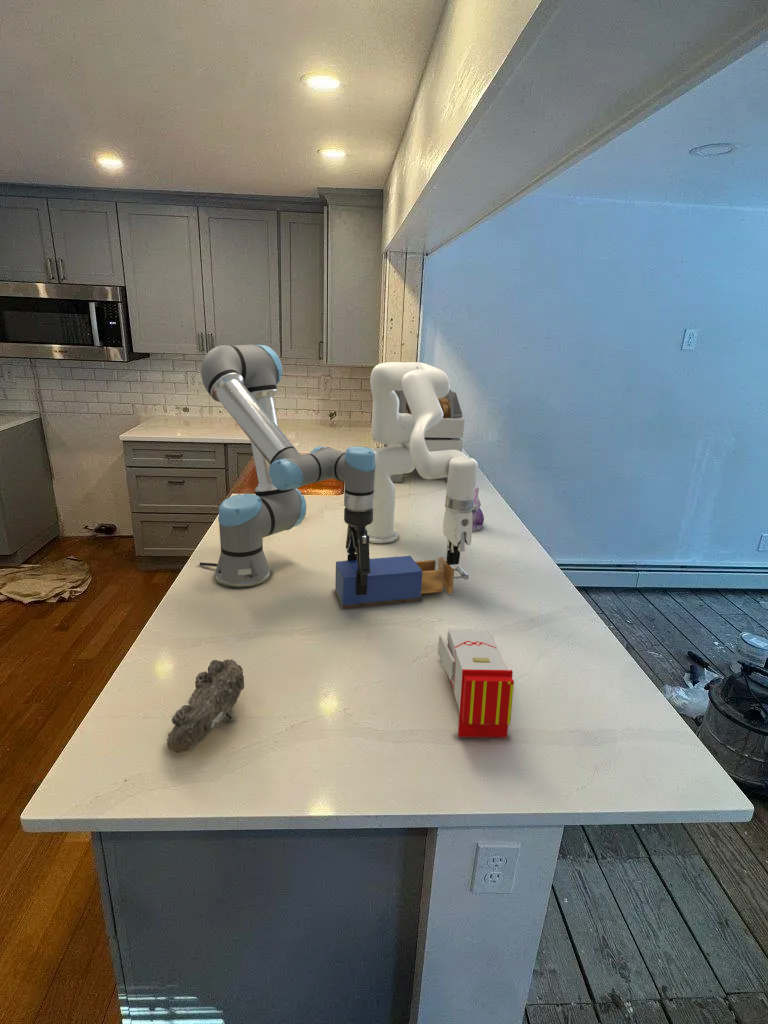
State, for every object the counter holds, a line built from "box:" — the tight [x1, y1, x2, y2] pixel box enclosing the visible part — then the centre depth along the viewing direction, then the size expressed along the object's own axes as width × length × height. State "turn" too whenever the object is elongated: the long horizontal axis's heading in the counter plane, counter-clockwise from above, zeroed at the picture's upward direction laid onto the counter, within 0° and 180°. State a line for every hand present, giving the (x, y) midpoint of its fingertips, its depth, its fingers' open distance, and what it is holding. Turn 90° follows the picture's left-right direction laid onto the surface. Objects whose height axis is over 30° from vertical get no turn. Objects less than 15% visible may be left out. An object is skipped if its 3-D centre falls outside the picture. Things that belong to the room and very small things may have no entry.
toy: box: [437, 628, 515, 738], centre depth 117 cm, size 12×13×30 cm
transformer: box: [383, 388, 465, 483], centre depth 268 cm, size 34×33×41 cm
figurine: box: [472, 486, 485, 532], centre depth 206 cm, size 9×10×15 cm
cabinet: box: [334, 555, 422, 610], centre depth 155 cm, size 22×10×9 cm, turn 106°
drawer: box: [414, 556, 470, 595], centre depth 158 cm, size 26×9×7 cm, turn 106°
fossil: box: [166, 658, 245, 754], centre depth 106 cm, size 22×10×15 cm
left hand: (356, 584), depth 153 cm, fingers closed on cabinet, 10 cm apart
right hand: (452, 563), depth 160 cm, fingers closed
